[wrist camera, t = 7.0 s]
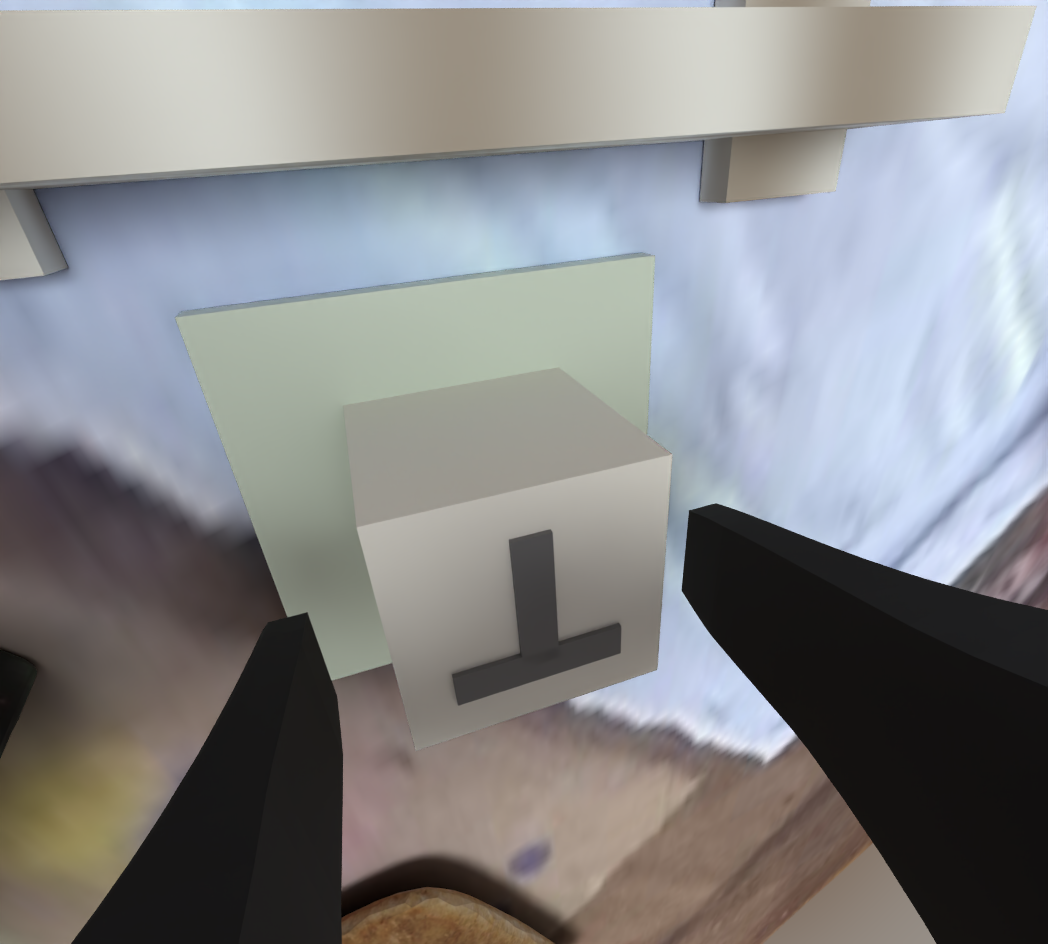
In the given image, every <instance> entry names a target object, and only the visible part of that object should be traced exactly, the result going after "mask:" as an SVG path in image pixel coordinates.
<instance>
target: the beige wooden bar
mask: <svg viewBox="0 0 1048 944" xmlns="http://www.w3.org/2000/svg"><path fill="white" fill-rule="evenodd" d="M870 1H871V0H715V7H675V8H461V9H246V10H31V11H0V280H8V279H18V278H27V277H36V276H45V275H48V274H51V273H54V272H57V271H60V270H63V269H66V268H68V266H67V264H66V262H65V260H64V257H63V255H62V253H61V251H60V248H59V246H58V244H57V242H56V240H55V237H54V235H53V233H52V231H51V228H50V226H49V224H48V222H47V220H46V217H45V215H44V213H43V211H42V209H41V206H40V204H39V202H38V200H37V197H36V195H35V193H34V191H33V189H42V188H56V187H70V186H83V185H97V184H111V183H124V182H138V181H152V180H165V179H179V178H193V177H206V176H220V175H234V174H247V173H261V172H275V171H289V170H302V169H316V168H330V167H343V166H357V165H371V164H384V163H398V162H412V161H425V160H439V159H453V158H466V157H480V156H494V155H507V154H521V153H535V152H548V151H562V150H576V149H589V148H603V147H617V146H631V145H644V144H658V143H672V142H685V141H699V140H704V152H703V165H702V177H701V190H700V202H717V203H730V202H739V201H749V200H758V199H767V198H777V197H786V196H796V195H805V194H814V193H824V192H833V191H836V186H837V180H838V175H839V169H840V164H841V158H842V153H843V148H844V142H845V137H846V131H847V129H854V128H863V127H873V126H883V125H892V124H902V123H912V122H922V121H931V120H941V119H951V118H960V117H970V116H980V115H990V114H999V113H1005V110H1006V106H1007V103H1008V100H1009V96H1010V93H1011V90H1012V86H1013V83H1014V80H1015V76H1016V73H1017V70H1018V66H1019V63H1020V60H1021V56H1022V53H1023V50H1024V46H1025V43H1026V40H1027V36H1028V33H1029V30H1030V26H1031V23H1032V20H1033V16H1034V13H1035V10H1036V6H890V7H870Z"/></svg>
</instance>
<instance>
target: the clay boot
mask: <svg viewBox="0 0 1048 944" xmlns="http://www.w3.org/2000/svg"><path fill="white" fill-rule="evenodd" d="M341 924H342V944H555V943H553V942H552V941H550V940H549V939H547V938H546V937H544V936H543V935H541V934H540V933H538V932H537V931H535V930H534V929H532V928H531V927H529V926H528V925H526V924H524V923H522V922H521V921H519V920H518V919H516V918H514V917H512V916H510V915H509V914H506V913H504V912H502V911H501V910H499V909H497V908H495V907H493V906H491V905H489V904H487V903H485V902H483V901H481V900H479V899H477V898H474V897H472V896H470V895H467V894H464V893H461V892H458V891H455V890H449V889H443V888H432V887H424V888H419V889H414V890H409V891H404V892H400V893H397V894H394V895H391V896H388V897H386V898H383V899H380V900H377V901H375V902H373V903H371V904H369V905H367V906H365V907H363V908H360V909H358V910H356V911H354V912H352V913H350V914H348V915H346V916H344V917H342V918H341Z"/></svg>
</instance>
